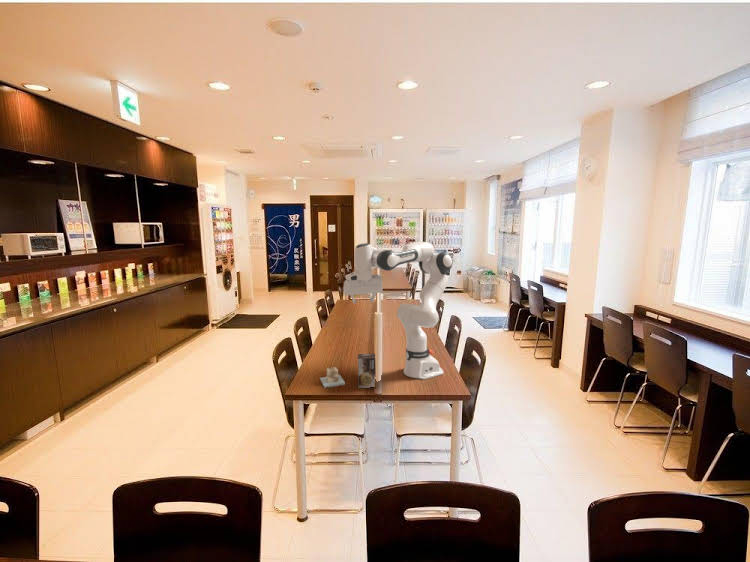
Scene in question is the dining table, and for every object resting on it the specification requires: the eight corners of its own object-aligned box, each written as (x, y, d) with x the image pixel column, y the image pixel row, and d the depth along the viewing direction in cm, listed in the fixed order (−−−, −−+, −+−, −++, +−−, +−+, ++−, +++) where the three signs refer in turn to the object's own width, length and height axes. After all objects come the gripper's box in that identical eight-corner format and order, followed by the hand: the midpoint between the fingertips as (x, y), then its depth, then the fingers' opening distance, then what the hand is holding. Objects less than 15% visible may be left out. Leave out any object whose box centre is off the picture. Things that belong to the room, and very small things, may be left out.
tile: (339, 376, 193) (339, 374, 193) (345, 384, 183) (345, 382, 183) (320, 379, 190) (320, 377, 190) (324, 388, 180) (324, 386, 179)
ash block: (335, 377, 190) (335, 367, 189) (338, 381, 185) (338, 370, 184) (326, 379, 188) (326, 368, 187) (328, 382, 183) (328, 371, 182)
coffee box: (375, 382, 186) (375, 353, 183) (375, 388, 180) (375, 357, 177) (358, 382, 186) (358, 353, 183) (358, 388, 179) (357, 358, 177)
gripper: (380, 273, 185) (380, 299, 187) (342, 275, 178) (342, 302, 180) (384, 275, 179) (384, 301, 181) (345, 277, 172) (346, 305, 174)
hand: (363, 302), depth 181 cm, fingers open, 8 cm apart
